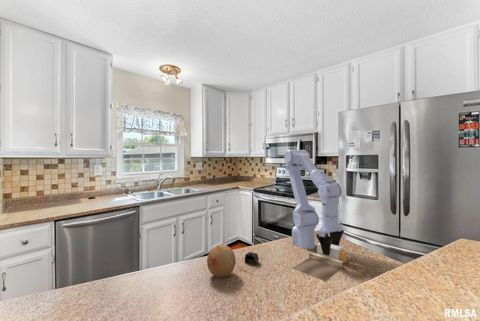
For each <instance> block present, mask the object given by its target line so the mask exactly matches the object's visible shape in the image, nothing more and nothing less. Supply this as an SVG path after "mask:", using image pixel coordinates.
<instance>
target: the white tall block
mask: <svg viewBox="0 0 480 321" xmlns="http://www.w3.org/2000/svg"><path fill="white" fill-rule="evenodd" d="M316 246H317V247H316V253H317V254H319V255H322V256H326V257H329V258H332V259H335V260H339V261H342V262H343V263H344V262H345V261H346V260H347V254H348V251H347V250H344V247H343V246H340V245H339V246H337V245H333V244H331V247H330V254H329V256H328V255H324V254H323V252H322V248H321V245H320V242H319V243H316Z"/></svg>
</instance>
